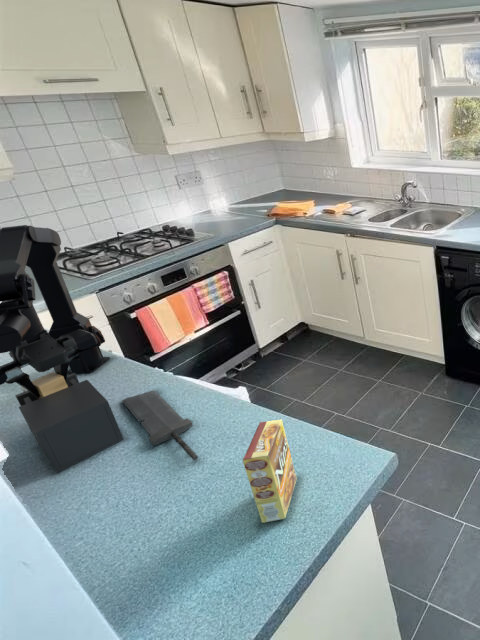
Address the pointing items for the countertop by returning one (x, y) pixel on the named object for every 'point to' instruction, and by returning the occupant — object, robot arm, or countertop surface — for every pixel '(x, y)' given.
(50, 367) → the robot arm
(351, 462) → the countertop surface
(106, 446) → the dark grey drawer box
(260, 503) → the candy box
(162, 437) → the grey flat handled slab
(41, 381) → the block
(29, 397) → the dark grey drawer
